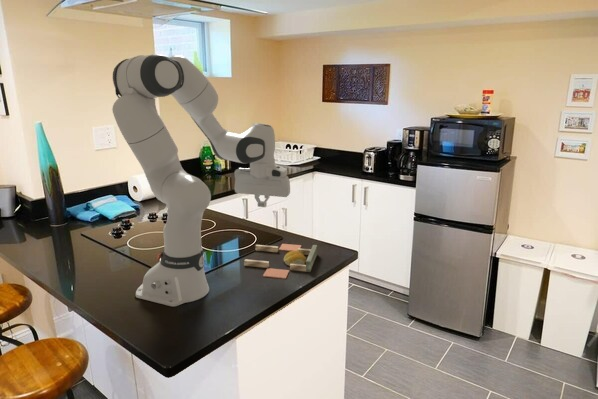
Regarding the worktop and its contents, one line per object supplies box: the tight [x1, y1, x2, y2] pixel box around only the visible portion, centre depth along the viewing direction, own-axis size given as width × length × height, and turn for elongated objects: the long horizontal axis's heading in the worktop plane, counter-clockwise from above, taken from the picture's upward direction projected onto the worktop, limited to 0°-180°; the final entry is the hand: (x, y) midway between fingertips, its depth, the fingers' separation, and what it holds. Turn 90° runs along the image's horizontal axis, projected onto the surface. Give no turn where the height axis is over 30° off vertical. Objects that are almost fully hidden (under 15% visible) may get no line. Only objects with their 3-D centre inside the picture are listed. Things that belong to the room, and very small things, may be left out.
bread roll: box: [283, 251, 307, 267], centre depth 155 cm, size 8×9×4 cm
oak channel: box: [243, 244, 318, 273], centre depth 156 cm, size 24×15×4 cm, turn 79°
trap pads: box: [262, 243, 302, 280], centre depth 157 cm, size 8×29×1 cm, turn 169°
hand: (262, 206), depth 152 cm, fingers closed
